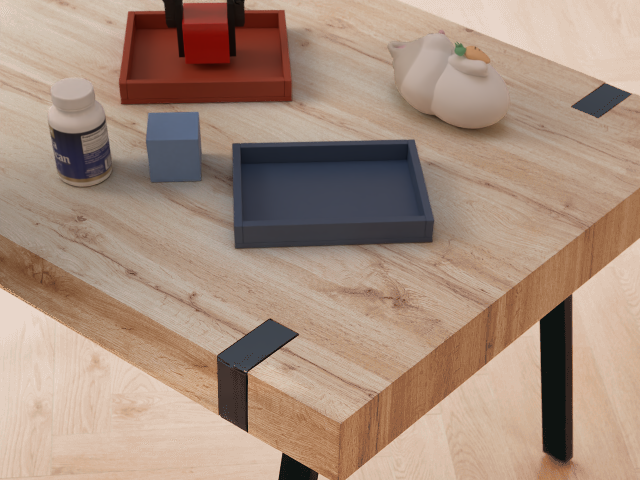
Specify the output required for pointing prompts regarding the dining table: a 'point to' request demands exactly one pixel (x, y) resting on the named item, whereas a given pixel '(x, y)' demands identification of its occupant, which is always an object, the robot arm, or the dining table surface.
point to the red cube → (205, 33)
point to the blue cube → (174, 146)
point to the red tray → (205, 79)
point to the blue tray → (329, 194)
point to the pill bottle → (79, 133)
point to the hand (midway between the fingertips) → (207, 50)
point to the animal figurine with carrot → (449, 81)
